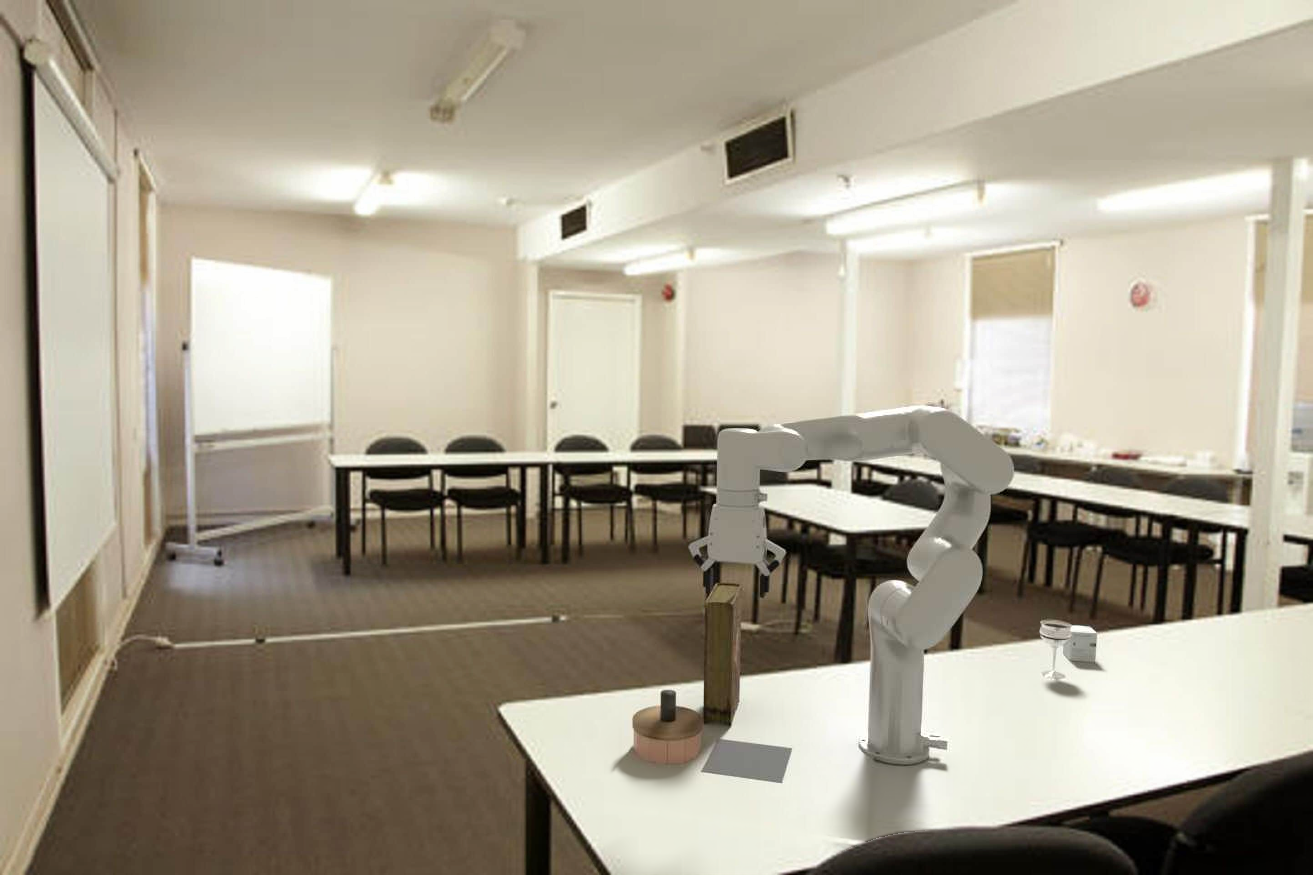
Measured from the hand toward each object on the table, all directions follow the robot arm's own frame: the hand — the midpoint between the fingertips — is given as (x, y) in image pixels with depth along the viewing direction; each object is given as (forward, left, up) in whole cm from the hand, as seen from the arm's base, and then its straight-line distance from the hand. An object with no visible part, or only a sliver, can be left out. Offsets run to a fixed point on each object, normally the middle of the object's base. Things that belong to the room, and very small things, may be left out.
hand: (735, 593), depth 158 cm
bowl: (+12, +1, -30) cm, 33 cm away
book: (+6, -20, -31) cm, 37 cm away
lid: (+12, +1, -25) cm, 28 cm away
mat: (-3, +1, -30) cm, 30 cm away
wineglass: (-63, -65, -31) cm, 96 cm away
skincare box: (-71, -80, -31) cm, 111 cm away
